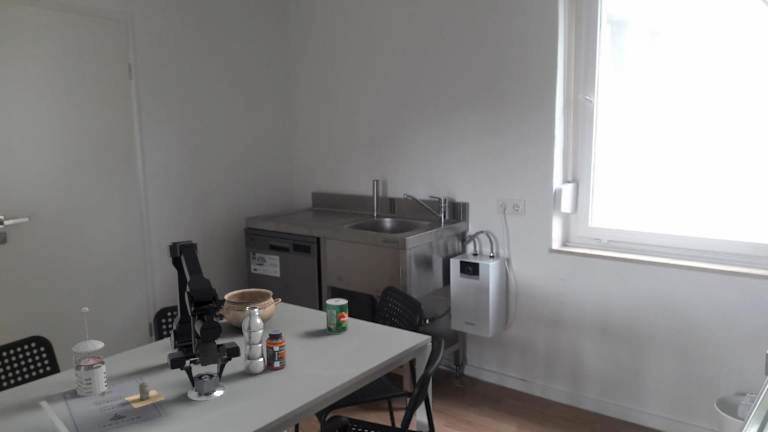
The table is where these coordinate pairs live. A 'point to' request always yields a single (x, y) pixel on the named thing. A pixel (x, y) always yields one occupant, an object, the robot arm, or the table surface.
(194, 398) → the disc
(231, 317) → the cooking pot
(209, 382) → the collar
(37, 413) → the table surface
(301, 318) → the table surface
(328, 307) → the canned tomato
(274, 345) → the supplement bottle
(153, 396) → the stand
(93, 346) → the french press
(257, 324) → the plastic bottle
